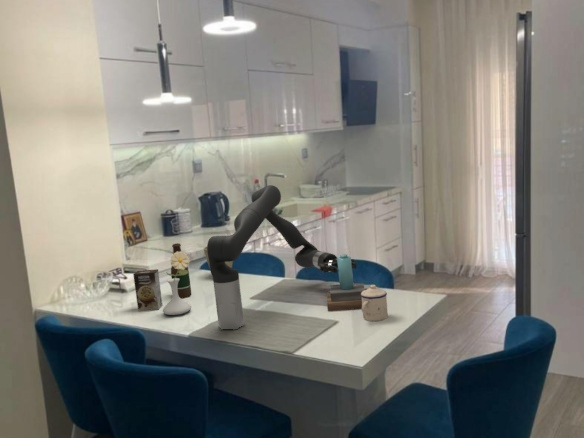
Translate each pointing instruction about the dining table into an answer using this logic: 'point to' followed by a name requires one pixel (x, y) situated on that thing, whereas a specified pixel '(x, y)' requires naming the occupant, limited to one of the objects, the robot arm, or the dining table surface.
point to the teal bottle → (345, 272)
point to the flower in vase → (176, 302)
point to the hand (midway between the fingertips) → (345, 268)
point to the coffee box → (148, 290)
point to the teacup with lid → (374, 304)
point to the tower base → (343, 304)
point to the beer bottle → (181, 277)
